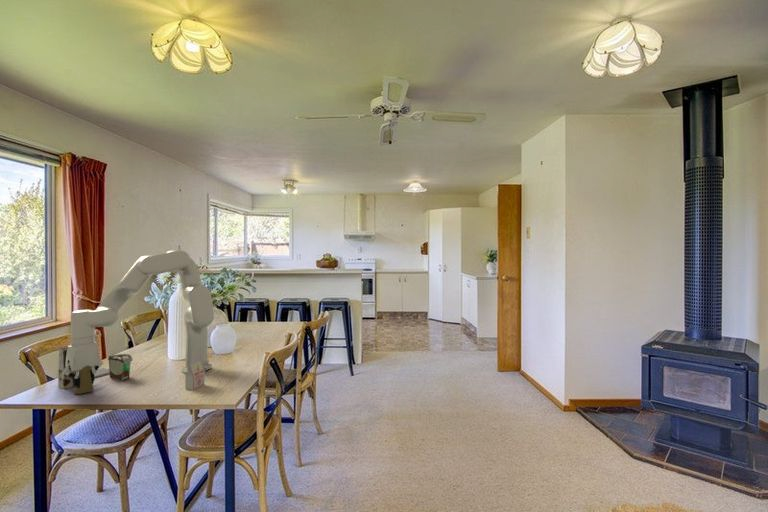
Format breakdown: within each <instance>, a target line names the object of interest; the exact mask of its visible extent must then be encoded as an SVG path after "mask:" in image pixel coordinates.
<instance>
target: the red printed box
mask: <svg viewBox="0 0 768 512" xmlns="http://www.w3.org/2000/svg"><path fill="white" fill-rule="evenodd" d="M205 372H206V371H204V368H203V366H202V362H201V361H200V362H198V363H195V364H193V365H190V366H189V368H188V371H187V373H185V381H184V382H185V386H184V388H185V390H186V389H189V391H195V390H196V388H197V389H199V388H200V386H201V387H203V386H205V378H206V377H205ZM202 385H203V386H202ZM198 387H199V388H198ZM194 389H195V390H194Z"/></svg>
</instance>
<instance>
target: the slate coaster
mask: <svg viewBox="0 0 768 512" xmlns="http://www.w3.org/2000/svg"><path fill="white" fill-rule="evenodd" d="M107 374H108V375H109V368H104V367H102V368H101V367H100V368H98V370H97V371H96V373H95V374H94V379H97V378H100V376H101V377H104V376H107ZM103 375H104V376H103ZM96 377H97V378H96Z"/></svg>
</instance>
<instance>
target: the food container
mask: <svg viewBox="0 0 768 512" xmlns="http://www.w3.org/2000/svg"><path fill="white" fill-rule="evenodd" d="M107 361H108V369H109V374H108V375H109V379H110V378H111V380H115V381H119V382H125V381H128V380H129V379H130V373H131V371H130V370H131V362H133V356H132V355H131V354H127V353H123V354H121V353H119V354H113V355H108V357H107ZM127 379H128V380H127Z"/></svg>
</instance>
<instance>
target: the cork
mask: <svg viewBox="0 0 768 512" xmlns="http://www.w3.org/2000/svg"><path fill="white" fill-rule="evenodd" d="M91 368H92V367H91V366H85V367H83V368H82V369H81V370H79V378H80V388H77V387H74V391H73V392H74V394H77V395H78V394H85V393H88V392H89V393H90V392H92V391H93V390H94V385H93V384H92V380H91V373H90V370H91Z"/></svg>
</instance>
